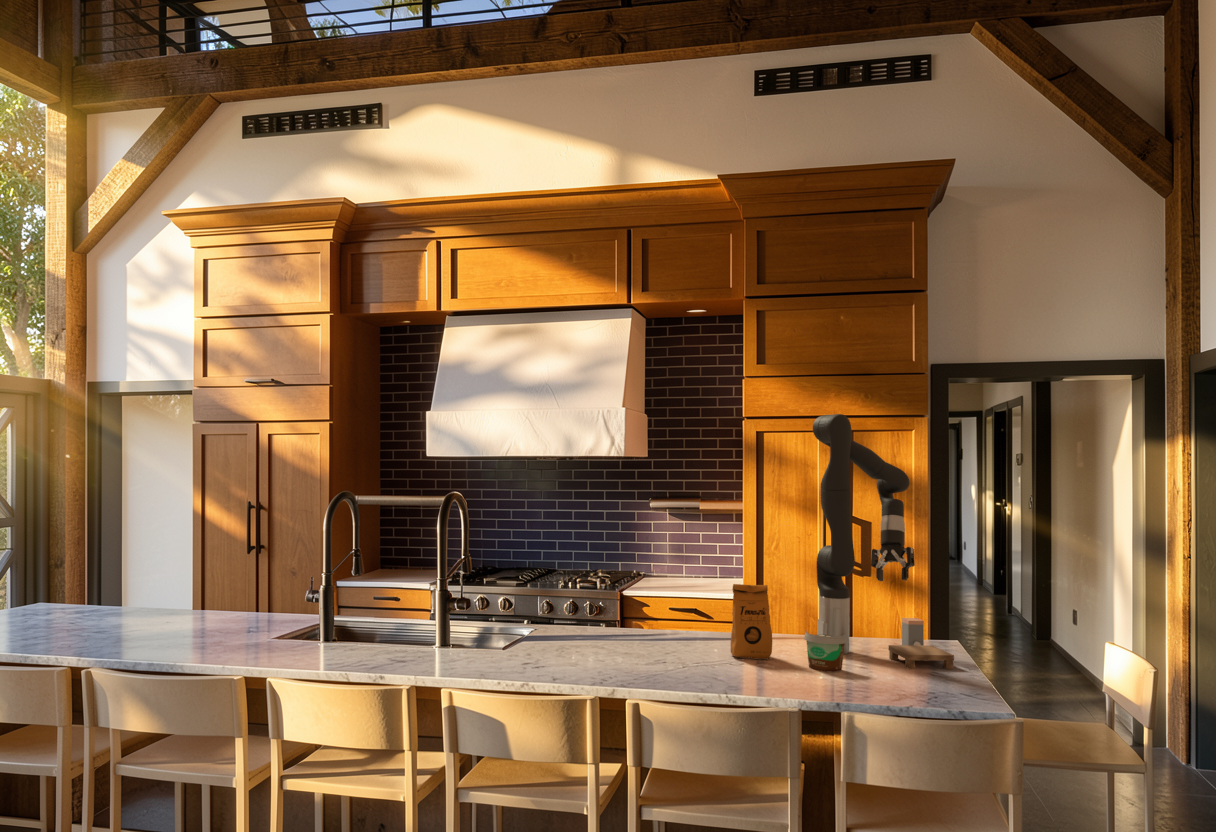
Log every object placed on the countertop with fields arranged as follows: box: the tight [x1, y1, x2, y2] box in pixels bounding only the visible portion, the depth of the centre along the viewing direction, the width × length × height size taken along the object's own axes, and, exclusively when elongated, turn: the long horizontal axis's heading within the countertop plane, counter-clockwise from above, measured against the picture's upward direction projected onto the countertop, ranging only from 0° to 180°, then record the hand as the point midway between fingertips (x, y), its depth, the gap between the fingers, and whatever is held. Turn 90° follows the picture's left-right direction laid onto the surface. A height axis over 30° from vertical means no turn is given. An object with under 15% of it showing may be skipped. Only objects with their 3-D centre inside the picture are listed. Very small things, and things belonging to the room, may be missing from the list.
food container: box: [803, 630, 847, 673], centre depth 247 cm, size 12×6×10 cm, turn 62°
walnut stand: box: [888, 644, 955, 670], centre depth 258 cm, size 14×14×4 cm
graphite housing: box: [901, 617, 925, 646], centre depth 277 cm, size 5×6×10 cm
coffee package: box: [730, 583, 773, 660], centre depth 262 cm, size 10×12×22 cm
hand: (892, 580), depth 277 cm, fingers open, 8 cm apart
